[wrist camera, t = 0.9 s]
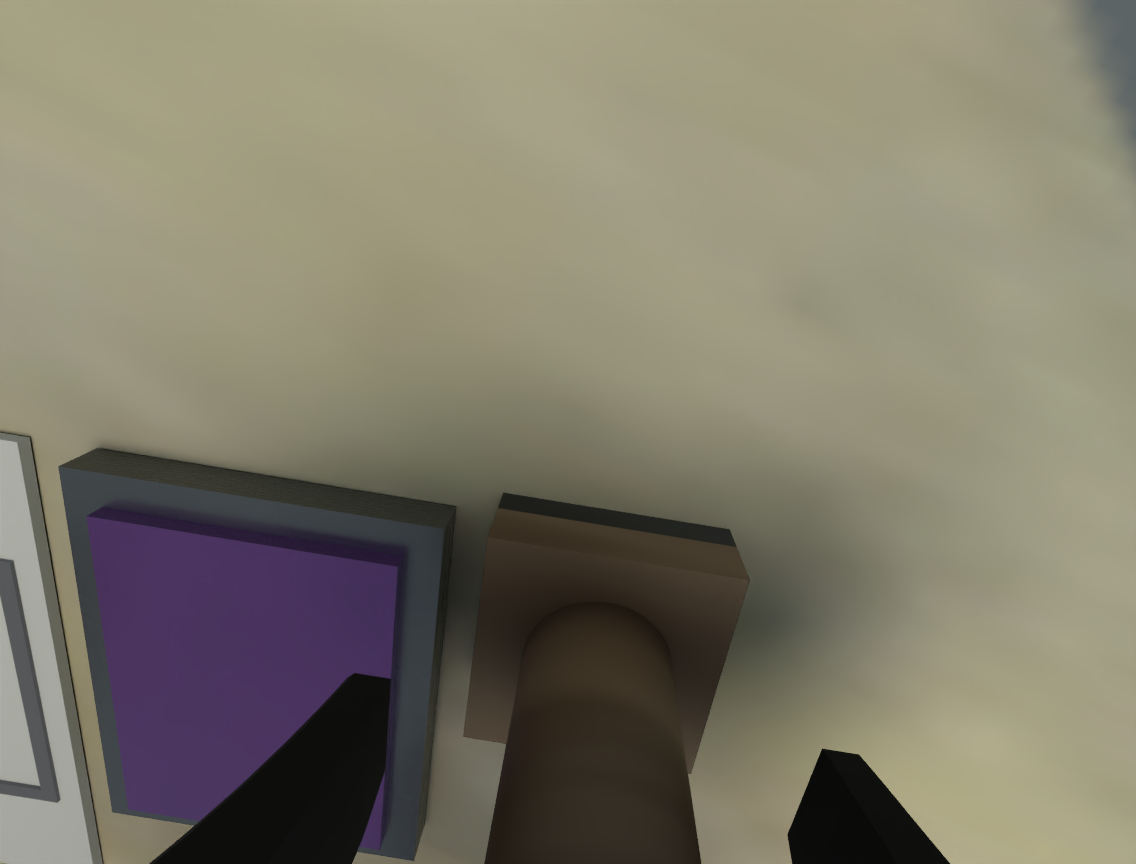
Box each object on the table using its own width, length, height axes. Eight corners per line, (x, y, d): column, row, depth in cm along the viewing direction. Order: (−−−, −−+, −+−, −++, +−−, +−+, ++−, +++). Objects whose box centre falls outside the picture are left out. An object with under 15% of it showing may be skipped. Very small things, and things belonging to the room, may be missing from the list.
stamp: (680, 703, 15) (738, 1087, 8) (480, 671, 15) (384, 1030, 8) (728, 528, 13) (852, 839, 7) (504, 491, 13) (405, 766, 7)
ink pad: (424, 824, 17) (409, 876, 15) (140, 778, 17) (100, 826, 15) (455, 506, 13) (439, 539, 12) (96, 448, 13) (41, 474, 12)
